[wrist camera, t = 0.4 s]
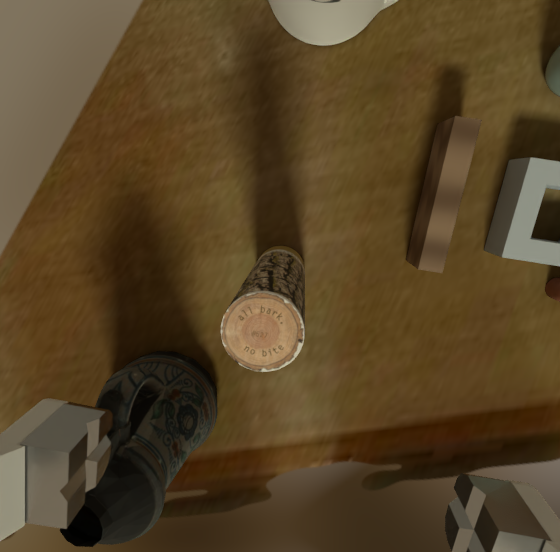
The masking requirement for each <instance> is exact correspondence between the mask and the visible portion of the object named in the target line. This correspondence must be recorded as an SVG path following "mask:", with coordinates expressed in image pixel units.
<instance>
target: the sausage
mask: <svg viewBox="0 0 560 552" xmlns="http://www.w3.org/2000/svg"><path fill="white" fill-rule="evenodd" d="M545 292H546V294H547V295H548V296H549V297H551V298H553V299H555V300H557V301H559V302H560V277H556V278H553V279H551V280H550V281H549V282H548V283H547V284H546V287H545Z"/></svg>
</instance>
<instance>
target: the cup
mask: <svg viewBox="0 0 560 552" xmlns="http://www.w3.org/2000/svg"><path fill="white" fill-rule="evenodd" d="M545 80H546V84H547V85H548V87H549V89H550V90H551V91H552V92H553V93H554V94H556V95H557V96H559V97H560V45H559V46H558V47H557V49H556V50H555V51H554V53H553V54H552V56H551V57H550V59H549V61H548V64H547V66H546V71H545Z"/></svg>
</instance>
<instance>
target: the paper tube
mask: <svg viewBox="0 0 560 552" xmlns="http://www.w3.org/2000/svg"><path fill="white" fill-rule="evenodd" d="M304 335H305V268H304V263H303V260H302V258H301V256H300V255H299V254H298V253H297V252H296V251H295V250H293V249H292V248H290V247H287V246H274V247H271V248H269V249H267V250H266V251H265V252H264V253H263V254H262V255H261V256H260V258H259V259H258V261H257V262H256V264H255V265H254V267H253V269H252V270H251V272H250V273H249V275H248V277H247V278H246V280H245V281H244V283H243V285H242V286H241V288H240V290H239V291H238V293H237V294H236V296H235V298H234V299H233V301H232V302H231V304H230V306H229V307H228V309H227V311H226V312H225V315H224V317H223V320H222V324H221V338H222V342H223V345H224V347H225V349H226V351H227V352H228V354H229V355H230V356H231V357H232V358H233V360H235V361H236V362H237V363H238V364H240V365H242V366H243V367H245V368H248V369H251V370H254V371H260V372H267V371H274V370H278V369H280V368H282V367H284V366H286V365H288V364H289V363H290V362H292V361H293V360H294V359H295V358H296V356H297V355H298V353H299V352H300V350H301V348H302V345H303V342H304Z"/></svg>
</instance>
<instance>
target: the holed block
mask: <svg viewBox="0 0 560 552" xmlns="http://www.w3.org/2000/svg"><path fill="white" fill-rule="evenodd" d="M546 188H551V189H557V190H560V162H558V161H552V160H545V159H539V158H532V157H529V158H521V159H512V160H509V162H508V166H507V169H506V173H505V176H504V180H503V184H502V187H501V191H500V194H499V198H498V201H497V205H496V209H495V212H494V216H493V219H492V223H491V226H490V230H489V234H488V237H487V241H486V244H485V248H484V251H487V252H489V253H492V254H495V255H497V256H500V257H504V258H511V259H517V260H523V261H530V262H536V263H542V264H548V265H555V266H560V239H559V242H556V241H550V240H544V239H537V238H531V235H532V231H533V228H534V225H535V221H536V218H537V215H538V212H539V208H540V205H541V202H542V199H543V195H544V192H545V189H546Z"/></svg>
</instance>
